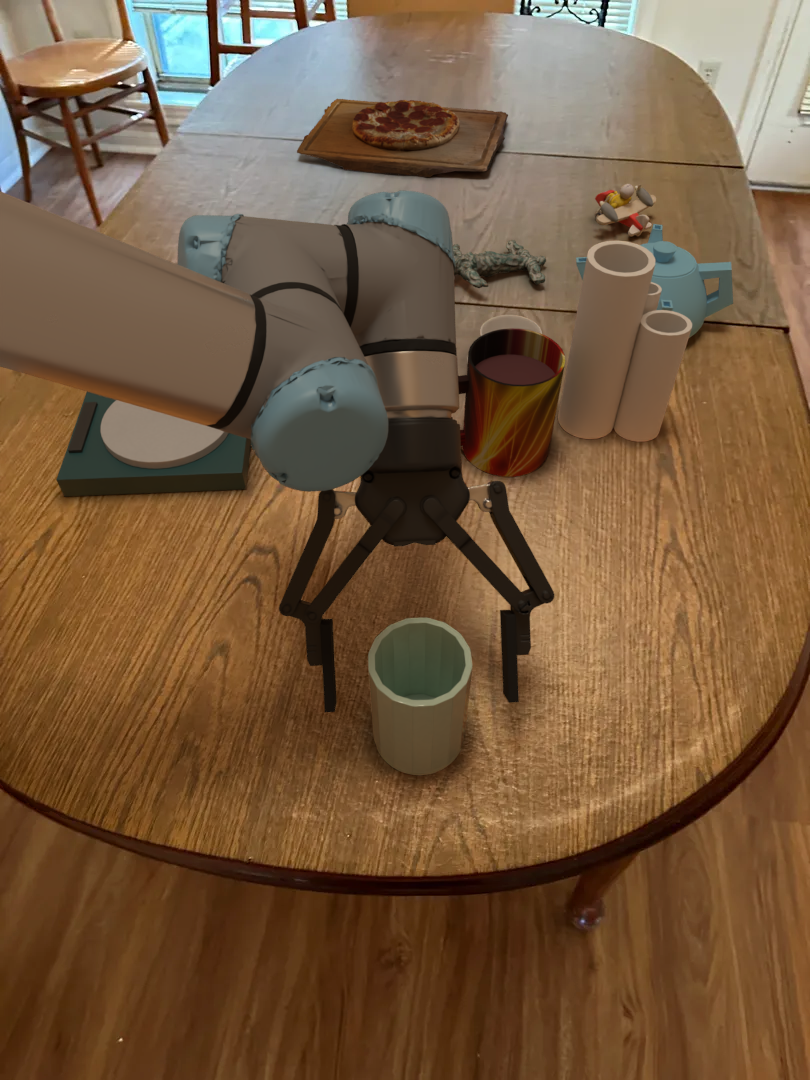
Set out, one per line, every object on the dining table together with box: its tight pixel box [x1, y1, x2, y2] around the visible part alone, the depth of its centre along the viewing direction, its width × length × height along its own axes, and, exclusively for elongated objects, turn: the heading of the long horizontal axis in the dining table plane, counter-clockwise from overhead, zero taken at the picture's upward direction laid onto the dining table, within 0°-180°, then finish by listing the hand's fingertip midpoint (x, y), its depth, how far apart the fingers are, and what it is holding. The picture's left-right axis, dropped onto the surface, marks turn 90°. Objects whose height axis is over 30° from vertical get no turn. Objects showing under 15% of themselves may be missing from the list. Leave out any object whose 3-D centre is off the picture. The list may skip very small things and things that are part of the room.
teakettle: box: [575, 223, 734, 339], centre depth 98 cm, size 15×15×11 cm
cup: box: [367, 616, 474, 776], centre depth 60 cm, size 7×7×11 cm
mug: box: [458, 328, 566, 478], centre depth 82 cm, size 10×14×12 cm
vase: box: [557, 240, 692, 443], centre depth 82 cm, size 11×7×20 cm, turn 86°
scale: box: [56, 391, 252, 498], centre depth 86 cm, size 19×16×4 cm
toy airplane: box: [594, 183, 657, 237], centre depth 117 cm, size 9×9×6 cm
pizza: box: [296, 98, 509, 178], centre depth 139 cm, size 35×28×4 cm
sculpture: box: [453, 239, 547, 289], centre depth 109 cm, size 11×20×5 cm, turn 108°
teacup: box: [466, 314, 543, 364], centre depth 95 cm, size 10×10×5 cm
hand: (421, 703), depth 59 cm, fingers open, 13 cm apart
